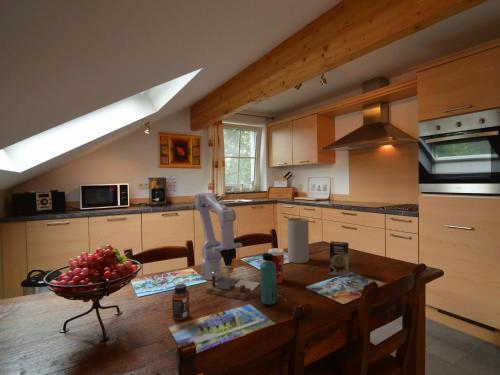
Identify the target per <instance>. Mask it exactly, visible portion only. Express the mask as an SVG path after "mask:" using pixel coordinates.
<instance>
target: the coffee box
mask: <svg viewBox="0 0 500 375" xmlns="http://www.w3.org/2000/svg"><path fill="white" fill-rule="evenodd" d="M349 247H350V246H349V242H346V241H345V242H343V241H330V243H329V275H330V276H337V277H338V276H339V277H347V278H348V277H349Z"/></svg>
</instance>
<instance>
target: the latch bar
mask: <svg viewBox="0 0 500 375" xmlns="http://www.w3.org/2000/svg"><path fill="white" fill-rule="evenodd" d="M211 276H221V278H222V277H227V278H231V277H230V276H231V275H230V274H229V273H223V272H222V273H217V272H215V271H213V272H211Z"/></svg>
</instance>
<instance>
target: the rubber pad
mask: <svg viewBox="0 0 500 375" xmlns="http://www.w3.org/2000/svg"><path fill="white" fill-rule="evenodd" d="M241 285H245V288H250V292H253V291H254V290H256V289H257V287H258V286H260V285H261V282H257V281H250V280H243V279H240V280H239V281H238V282H237V283H235V286H239V287H240V286H241Z"/></svg>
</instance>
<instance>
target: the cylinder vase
mask: <svg viewBox="0 0 500 375" xmlns="http://www.w3.org/2000/svg"><path fill="white" fill-rule="evenodd" d="M286 220H287V221H286V222H287V223H286V224H287V261H289V263H290V262H291V263H292V262H293V263H294V264H306V263H308V262H309V260H310V254H309V253H310V250H309V249H310V245H309V244H310V243H309V241H310V240H309V238H310V236H309V234H310V232H309V219H308V218H303V217H302V218H301V217H291V218H287V219H286Z"/></svg>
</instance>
